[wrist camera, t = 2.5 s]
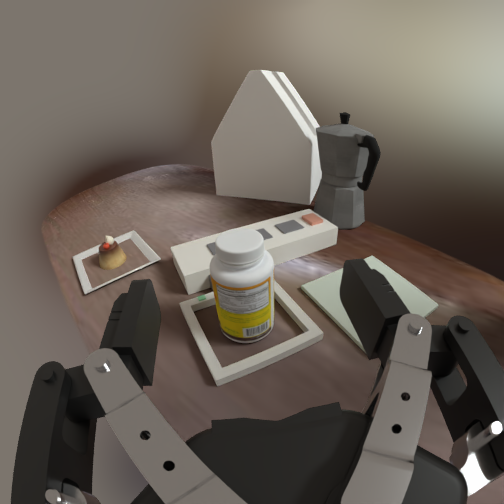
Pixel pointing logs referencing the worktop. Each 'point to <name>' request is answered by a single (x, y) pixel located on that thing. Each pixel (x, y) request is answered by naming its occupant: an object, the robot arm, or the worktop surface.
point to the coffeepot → (344, 172)
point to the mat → (329, 301)
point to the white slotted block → (267, 143)
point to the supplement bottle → (243, 285)
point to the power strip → (275, 242)
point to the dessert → (111, 257)
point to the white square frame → (261, 359)
